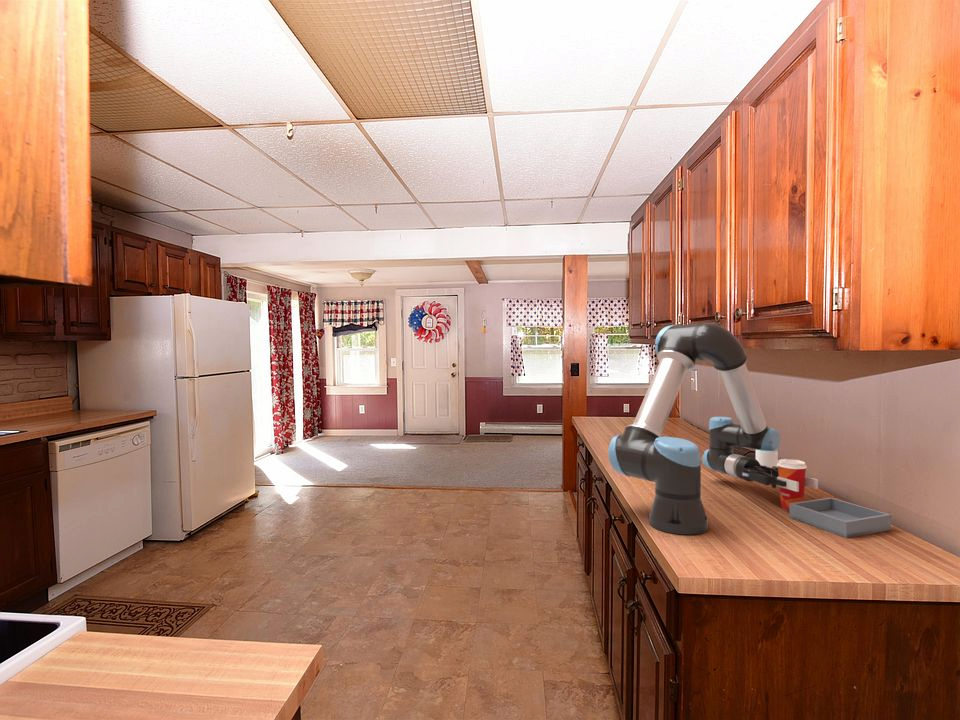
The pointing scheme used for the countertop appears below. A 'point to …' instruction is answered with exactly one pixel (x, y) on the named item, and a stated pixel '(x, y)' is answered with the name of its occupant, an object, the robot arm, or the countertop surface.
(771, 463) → the can
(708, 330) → the robot arm
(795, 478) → the paper cup
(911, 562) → the countertop surface
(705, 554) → the countertop surface
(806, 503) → the box
